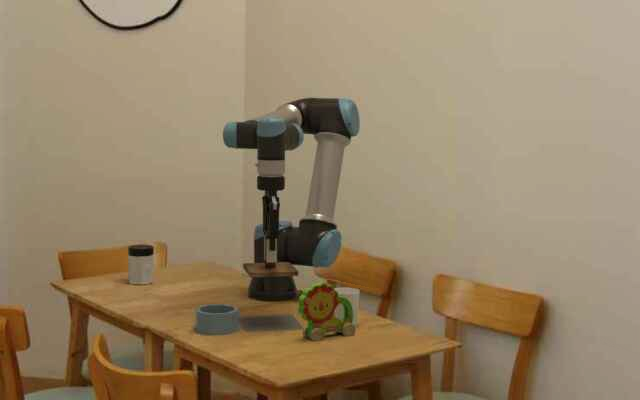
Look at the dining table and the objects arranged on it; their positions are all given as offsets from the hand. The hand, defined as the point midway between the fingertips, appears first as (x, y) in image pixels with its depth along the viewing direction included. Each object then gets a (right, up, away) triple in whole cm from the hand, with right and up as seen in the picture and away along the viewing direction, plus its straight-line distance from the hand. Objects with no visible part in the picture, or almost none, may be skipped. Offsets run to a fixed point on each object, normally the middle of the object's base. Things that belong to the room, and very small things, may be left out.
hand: (270, 260), depth 261 cm
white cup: (+20, -18, +2) cm, 27 cm away
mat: (0, -18, +2) cm, 18 cm away
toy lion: (+15, -20, -11) cm, 27 cm away
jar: (-45, -11, +53) cm, 70 cm away
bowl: (-14, -18, -5) cm, 24 cm away
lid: (0, -3, 0) cm, 3 cm away
